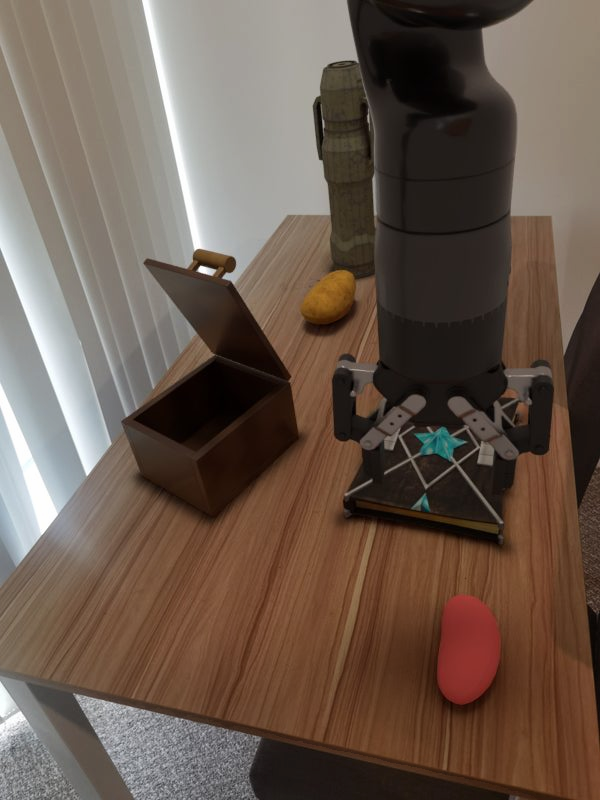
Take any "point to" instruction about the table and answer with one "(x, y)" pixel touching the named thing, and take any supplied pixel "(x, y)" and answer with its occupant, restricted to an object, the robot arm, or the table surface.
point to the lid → (218, 311)
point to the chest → (213, 432)
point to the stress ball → (467, 649)
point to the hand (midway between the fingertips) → (436, 481)
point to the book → (435, 481)
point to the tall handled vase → (347, 165)
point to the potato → (330, 298)
